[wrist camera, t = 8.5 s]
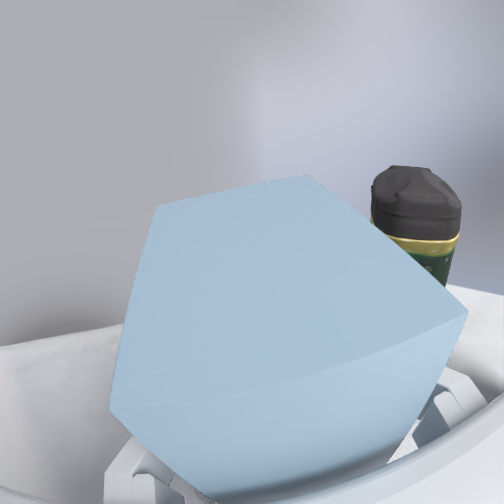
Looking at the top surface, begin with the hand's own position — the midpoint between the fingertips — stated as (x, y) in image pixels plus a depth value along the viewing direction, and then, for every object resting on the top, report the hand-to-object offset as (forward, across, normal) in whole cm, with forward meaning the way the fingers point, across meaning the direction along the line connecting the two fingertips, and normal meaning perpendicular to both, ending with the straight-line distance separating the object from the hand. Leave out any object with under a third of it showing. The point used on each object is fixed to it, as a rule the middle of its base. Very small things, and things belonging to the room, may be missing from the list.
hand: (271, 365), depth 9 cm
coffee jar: (+13, -15, +18) cm, 27 cm away
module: (-1, 0, +7) cm, 7 cm away
